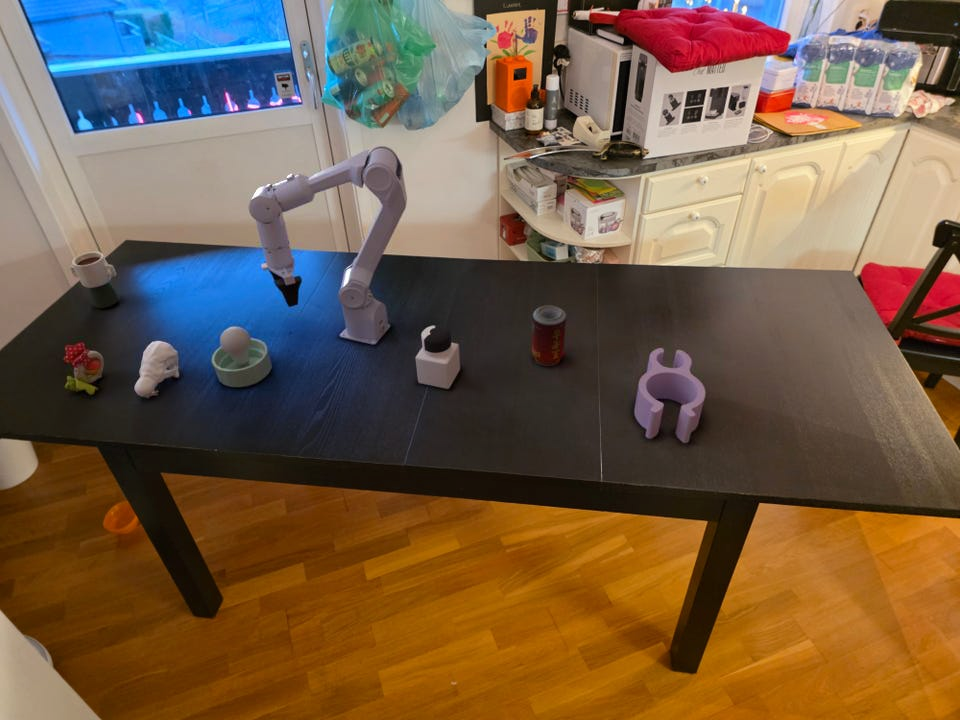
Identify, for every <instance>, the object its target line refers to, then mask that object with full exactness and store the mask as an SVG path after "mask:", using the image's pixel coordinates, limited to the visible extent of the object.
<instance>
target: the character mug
mask: <svg viewBox="0 0 960 720" xmlns="http://www.w3.org/2000/svg"><path fill="white" fill-rule="evenodd" d="M105 258H106V257H105V256H104V253H102V252H100V251H87V252H85V253H82V254H79V255H77V256H75V257H74V258H73V259H72V261H71V264H70V265H69V270H70V272H71V274H72V275H73V277H75V278H78V279H79V281H80V283H81V286H83V287H85V288H88V292H89V295H90V299H91V302H92V304H93V306H94V307H95V308H98V309H105V308H109V307H111V306H113V305H116V303H118V302H119V301H120V300H121V297H120V295H119V293H118V292H117V290H116V288H115V286H114V285H113V284H112V282H111V280H112V278H115V277H116V276H117V272H116V269H115V266H114V265H113V264H109V263H108V262H107V260H106V259H105Z"/></svg>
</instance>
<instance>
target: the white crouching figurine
mask: <svg viewBox="0 0 960 720" xmlns="http://www.w3.org/2000/svg"><path fill="white" fill-rule="evenodd" d="M142 354H143V355H142V359H141V362H140V368H139V371H138V373H139V378H138V379H137V381H136V383H135V385H134V392H135V393H136V395H137V396H139V397H141V398H146V399H149V398H150V397H152V396H157V395H158V389H156V387H157V386H158V384H159V383H160V384H161V383H162V382H163V381H165V379H166V380H167V379H169V378H171V377H173V378H177V379H178V378H179V377H180V373H179V354H178V351H177V350H176V349H175V348H174V347H173V346H172V345H171V344H170V343H168V342H165V341H161V340H155V341H152V342H151V343H150V344H148V345H147V346H146V348H145V350H144V351H143V353H142ZM155 389H156V390H155Z"/></svg>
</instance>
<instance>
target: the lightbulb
mask: <svg viewBox="0 0 960 720" xmlns="http://www.w3.org/2000/svg"><path fill="white" fill-rule="evenodd" d="M251 338H252V337H251V336H250V333H249V332H248V331H247V330H246V329H244V328H243V327H240V326H230V327H228V328H226V329H225V330H223V332H222V333H221V335H220V338H219V344H220V346H221V347H222V349H223V350H224V351H225V352H226V353H228V354H229V355H230V356H231V357H232V358H233V360H234V362H235V363H236V365H237V368H238V369H241V368H245V367H248V366H250V364H249V356H248V350H249V347H250V344H251Z"/></svg>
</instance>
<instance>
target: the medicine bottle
mask: <svg viewBox="0 0 960 720" xmlns="http://www.w3.org/2000/svg"><path fill="white" fill-rule="evenodd" d="M451 334H452V333H451V331H450V329H449V328H447V327H446V326H444V325H439V324H438V325H437V324H435V325H430V326H427V327H426V328H424V329H423V330H422V332H421V334H420V337H421V346H422V347H421V348H420V350H419V352H418V353H417V354H416V356H415V366H416V376H417V382H418V384H421V385H427V386H432V387H436V388H440V389H446V390H449V389H450V388H451V386H452V384H453V383H454V381H455V379H456V378H457V376H458V374H459V373H460V370H461V360H460V345H459V343H455V342H452V335H451Z"/></svg>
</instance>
